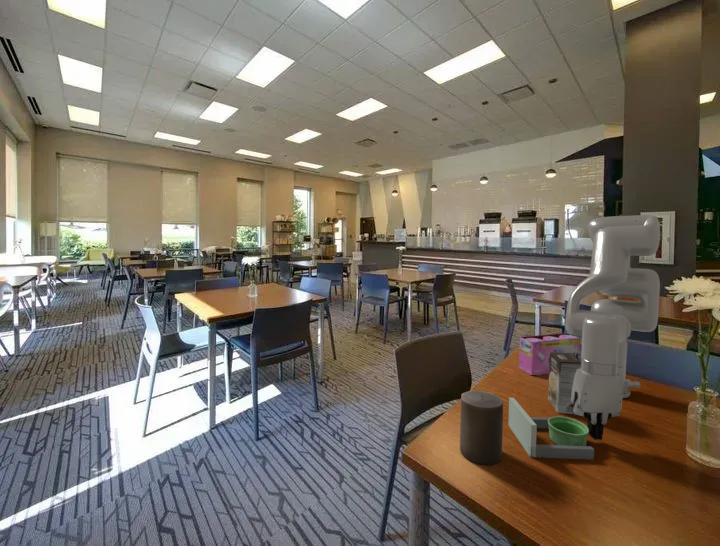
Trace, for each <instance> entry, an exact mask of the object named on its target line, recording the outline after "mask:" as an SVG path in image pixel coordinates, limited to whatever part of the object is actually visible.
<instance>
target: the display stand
mask: <svg viewBox="0 0 720 546" xmlns="http://www.w3.org/2000/svg"><path fill="white" fill-rule="evenodd" d="M549 418H550V417H538V416H537V417H534V416H530V415H529V414H528V413H527V412H526V410H524V408H523V407H522V406H521V404H520V403H519V402H518V401H517V400H516V399H515V397H508V427H509V428H510V430H511V432H512V434H514V436H515V438H517V440H518V441H519V443H520V444H521V446H522V448H523V449H524V450H525V452H526V454H527V455H528V456H529V458H537V457H538V458H539V459H541V457H543V459H545V458H546V459H568V460H569V459H572V460H594V459H595V449H594V447H592V446H591V445H590V446H587V445H586V446H565V445H557V444H537V433H538V432H537V430H538V429H545V430H547V429H548V430H549V425H548V419H549ZM538 458H537V459H538Z"/></svg>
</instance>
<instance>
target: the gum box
mask: <svg viewBox="0 0 720 546" xmlns="http://www.w3.org/2000/svg"><path fill="white" fill-rule="evenodd" d="M581 344H582V338H581V337H575V336H572V335H570V334H569V333H568V332H563V333H550V334H542V335H541V334H540V335H539V334H538V335H528V336H519V347H518V349H519V351H518V354H519V355H518V369H519V368H520V369H522V370H523V371H525V372H527V373H529V374H530V375H529V374H528V375H529V376H531V375H537V376H543V375H542V374H547V375H549V363H550V352H554V353H571V354H572V355H574V356H575V357H576V358H577V359H578V360H579V361H581ZM523 371H522V372H523ZM525 372H524V373H525ZM527 373H526V374H527Z"/></svg>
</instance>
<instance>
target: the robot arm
mask: <svg viewBox="0 0 720 546" xmlns="http://www.w3.org/2000/svg"><path fill="white" fill-rule="evenodd" d="M660 229H661V224H660V220H659V218H657V216H655V215H653V214H644V215H643V214H640V215H638V214H637V215H615V216H613V215H612V216H602V217H596V218H594V219H591V220H590V221H589V223H588V224H587V232H588V235H589V238H590V241H591V242H592V248H591V249H592V252H591V261H590V269H589V275H588V276H587V277H586V278H584V280H582V281H581V282H580V283H578V284H577V285H576V286H575V288H574V289H573V290H572V291H571V293H570V294H569V297H568V300H567V307H566V312H565V323H564V324H565V330H566V333H568V334H570V336H574V337H577V338H579V337H580V338H581V346H580V361H581V368H580V369H577V371H576V373H575V377H574V381H573V386H572V394H571V402H572V404H574V405H575V406H574V409H573V412H574V413H575V414H574V415H576V416H580V417H584V418H585V419H586V420H587V425H586V426H587V427H588V429H589V434H588V436H590V437H591V438H592V439H594V440H596V441H597V440H599V441H603V435H604V428H605V427H604V426H605V425H606V424H608V421H609V420H610V419H611V418H613V417H619V416H620V414H621V413H620V412H621V410H622V407H623V399H627V398H630V396H631V390H630V389H631V388H641V382H640V381H631V380H630V379H628V378H627V379H626V376H627V375H626V374H627V373H626V372H627V358H628V357H627V356H628V355H627V354H628V342H627V338H629V337H630V336H631V332H632V331H636V332H645V333H647V332H648V333H650V332H653V331H654V330H656V328H657V326H658V321H659V308H660V307H659V306H660V292H661V291H660V290H661V281H660V277H659V274H658V272H656V271H655V270H654V269H651V268H633V267H631V257H635V256H636V257H638V256H639V257H650V256H654V255H655V254H656V253H657V251H658V249H659V248H660V247H659V246H660V241H661V230H660ZM597 292H598V293H600V294H601V295H603V296H606V297H607V296H608V297H616V298H617V297H618V298H629V299H630V298H631V299H638V300H639V301H633V300H623V299H622V300H621V299H611V298H608V299H607V298H604V299H598V300H597V299H596V300H595V301H594V302H593V303H592V304H591V307H590V310H586V309H580V305H581V303H582V301H583V300H584V299H585V298H586V297H588V296H589V295H591V294H594V293H597Z"/></svg>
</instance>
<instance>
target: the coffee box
mask: <svg viewBox="0 0 720 546" xmlns="http://www.w3.org/2000/svg"><path fill="white" fill-rule="evenodd" d="M580 368H581V360H580V361H579V360H578V359H577V358H576V357H575V356H574V355H572V354H571V353H554V352H550V363H549V374H548V390H547V391H548V393H547V401H549V403H550V405H551V406H552V407H553V409H554V410H555V412H556V413H558V414H566V415H567V414H568V415H576V414H575V413H574V412H573V409H574V406H575V405H574V404H572V402H571V394H572V386H573V381H574V377H575V373H576V371H577V369H580Z"/></svg>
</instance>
